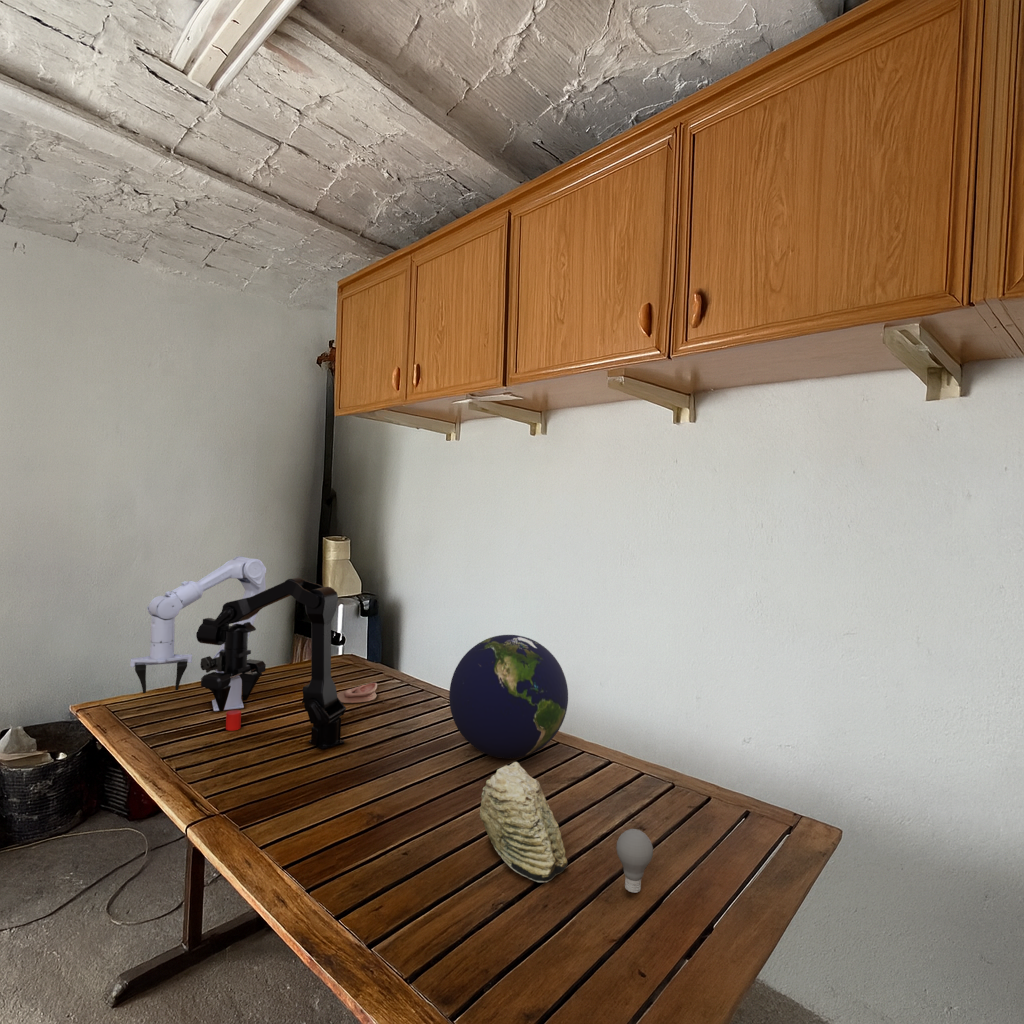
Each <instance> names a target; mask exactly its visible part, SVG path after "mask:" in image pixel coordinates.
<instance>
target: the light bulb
mask: <svg viewBox="0 0 1024 1024" xmlns="http://www.w3.org/2000/svg"><path fill="white" fill-rule="evenodd" d="M615 849H616V854H617V857H618V859H619V861H620V863H621V865H622V867H623V873H624V874H623V875H624V876H625V878H624V888H625V890H627V891H628V892H630V893H634V894H635V893H639V892H640V891H641V889H642V887H641V886H642V879H643V877H644V875H645V871H646V868H647V867H648V866H649V864H650V863H651V861H652V859H653V855H654V847H653V843H652V841H651V838H649V836H648V835H647V834H646V833H645V832H643V831H642V830H641V829H636V828H629V829H627V830H625V831H623V832H622V833H621V834H620V835H619V837H618V839H617V841H616V847H615Z"/></svg>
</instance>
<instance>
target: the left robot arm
mask: <svg viewBox="0 0 1024 1024" xmlns="http://www.w3.org/2000/svg"><path fill="white" fill-rule="evenodd" d="M267 569H268V568H267V567H266V566H265V564H264V562H263V561H262V560H261V559H258V558H251V557H245V556H242V555H238V556H234V557H233V558H232V559H229V560H227V561H226V562H225V563H224V564H223V565H220V566H219V567H218V568H216V569H214V570H213V571H211V572H209V573H208V574H206V575H205V576H203V577H202V578H200V579H198V580H196V581H194V580H184V581H181V583H180V585H179V586H178V587H176V588H174V589H172V590H168V591H165V592H164V595H157V596H155V597H153V598H152V599H151V601H150V602H149V604H148V605H147V607H146V610H147V612H148V614H149V615H150V617H151V618H150V642H149V655H147V656H140V657H131V658H130V663H129V665H130V666H129V667H130V668H134V671H135V674H136V676H137V677H138V679H139V682H140V685H141V689H142V694H146V693H147V666H155V665H170V664H176V678H175V687H174V689H175V691H179V687H180V683H181V680H182V678H183V675H184V673H185V671H186V670H187V668H188V664H190V663H191V664H192V663H193V654H192V653H180V654H178V653H175V633H176V632H175V631H176V617H177V616H178V615H179V612H180V611H182V610H183V609H185V608H186V607H189V606H190V605H191V604H193V603H195V602H197V601H199V600H200V599H201V598H202V597H203V594H204V592H205V591H207V590H209V589H211V588H213V587H216V586H217V585H219V584H220V583H223V582H225V581H227V580H229V579H237V580H238V581H239V582H240V585H242V587H243V589H244V593H243V596H242V598H241V599H244V598H249V597H252V596H254V595H256V594H259V593H261V592H263V591H265V590H267V585H266V574H267ZM257 615H258V613H257V614H255V615H254V616H252V617H251V618H250V619H247V620H244V621H240V622H236V623H232V625H234V624H244V623H247V622H250V623H251V624H252V625H253V626H254V624H255V620H256V618H257ZM250 634H251V632H248V639H249V637H250ZM219 646H220V647H219V649H218V651H217V652H216V653H215V655H214V656H213V657H212V659H213V658H216V657H219V654H220V652H221V651H224V644H222V645H219ZM248 656H249V655H247V658H248ZM214 672H218V673H224V671H222V672H220V671H217V669H216V670H214ZM229 686H231V688H230V691H229V695H228V698H227V702H226V705H225V708H224V710H223V711H231V710H239V709H244V708H245V706H244V703H243V698H242V679H241V678H240V676H236V677H233V678H231V682H230V684H229ZM211 704H212V710H213V712H220V710H219V708H218V705H217V703H216V700H215V699H212V700H211Z"/></svg>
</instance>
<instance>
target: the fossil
mask: <svg viewBox="0 0 1024 1024" xmlns="http://www.w3.org/2000/svg"><path fill="white" fill-rule="evenodd" d="M479 819H480V820H481V822H482V823H483V827H484V829H485V832H486V833H487V836H488V838H489V840H490V842H491V844H492V845H493V848H494V850H495V852H496V853H497V854H498V856H500V858H501V859H502V861H503V862H504V863H505V864H506V865H507V867H509V868H510V869H511V870H513V871H514V873H517V874H519V875H520V876H522V877H525V878H527V879H528V880H531V881H533V882H536V883H548V882H550V881H552V880H553V879H554V878H555V877H556V876H557V875H560V874H561V873H563V872H564V871H565V870H566V868H567V867H568V866H569V863H568V859H567V856H566V848H565V847H564V841H563V838H562V834H561V831H560V826H559V824H558V822H557V821H556V818H555V817H554V813H553V811H552V810H551V807H550V805H549V803H548V802H547V799H546V796H545V794H544V790H543V789H542V786H541V784H540V781H539V780H537V779H535V778H533V777H532V776H531V775H529V773H528V772H527V771H526V769H524V768H523V766H521V764H520V763H519V762H518V761H513V762H512V763H511V764H509V765H507V764H506V765H504V766H502V767H500V768H498V769H497V770H496V772H495V773H494V774H492V775H491V776H490V778H489V779H487V780H486V782H485V786H483V788H482V792H481V802H480V808H479Z"/></svg>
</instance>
